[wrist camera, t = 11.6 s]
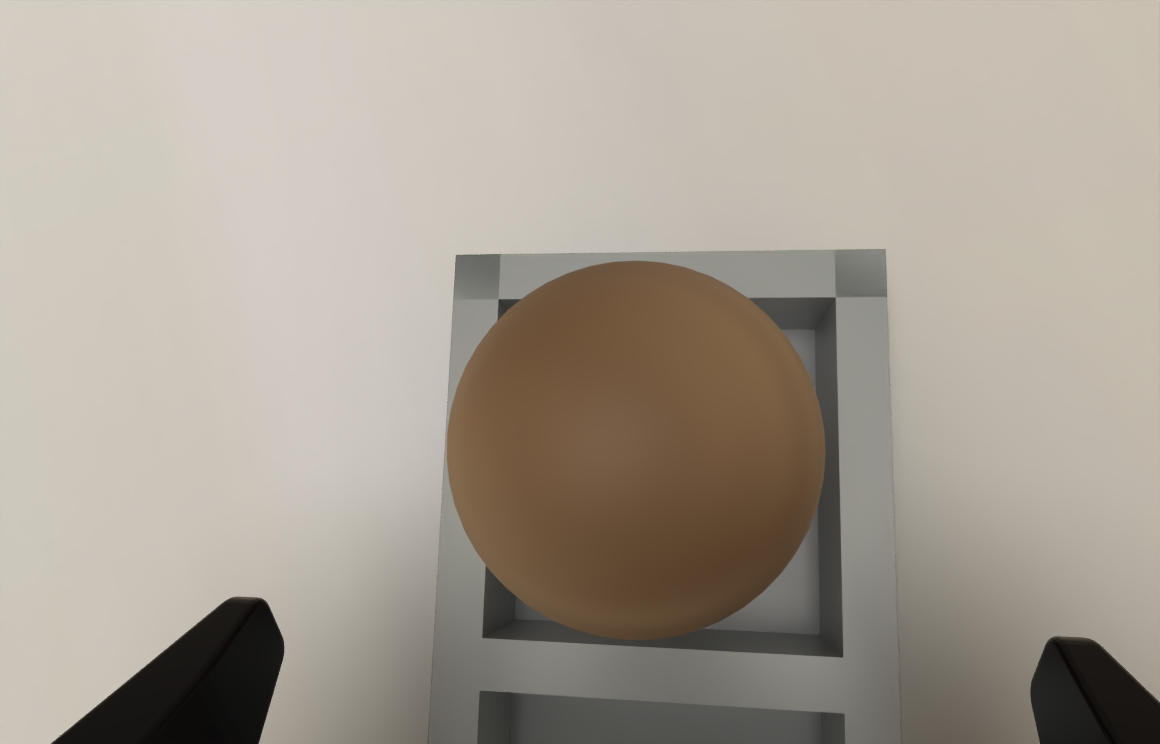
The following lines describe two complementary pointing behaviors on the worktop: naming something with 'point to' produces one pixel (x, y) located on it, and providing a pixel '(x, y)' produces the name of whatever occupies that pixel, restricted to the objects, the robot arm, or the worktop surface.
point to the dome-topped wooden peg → (636, 450)
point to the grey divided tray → (749, 636)
